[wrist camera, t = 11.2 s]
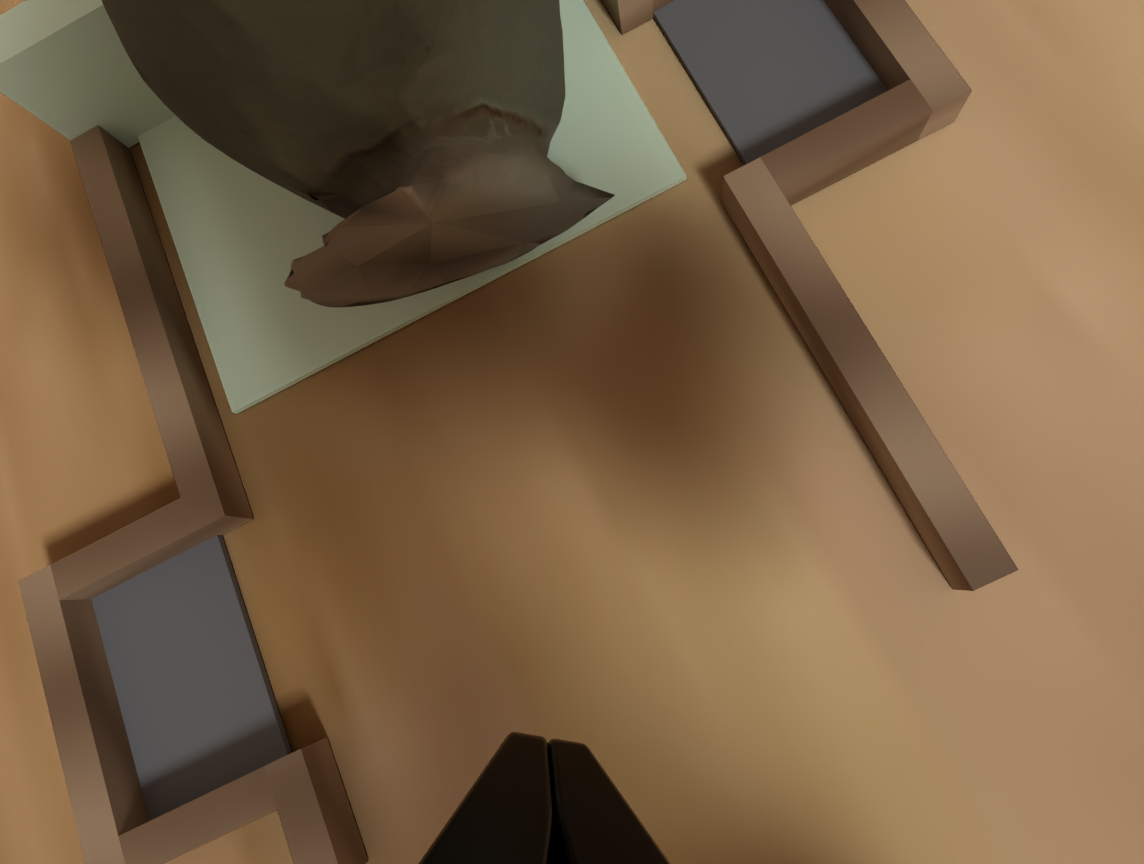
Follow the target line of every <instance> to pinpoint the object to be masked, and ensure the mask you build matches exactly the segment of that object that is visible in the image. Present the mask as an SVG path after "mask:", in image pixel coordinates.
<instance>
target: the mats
mask: <svg viewBox="0 0 1144 864" xmlns="http://www.w3.org/2000/svg"><path fill="white" fill-rule="evenodd" d="M653 14H654V19H655V21H656V22H657V24H658V25H659V27H660V29H661V30H662V32H663V34H664V35H665V37H666V38H667V40H668V42H669V43H670V45H671V47H672V48H673V50H674V51H675V53H676V55H677V56H678V58H679V59H680V61H681V63H682V64H683V66H684V68H685V69H686V71H687V72H688V74H689V76H690V77H691V79H692V81H693V82H694V84H695V85H696V87H697V89H698V90H699V92H700V94H701V95H702V97H703V98H704V100H705V102H706V103H707V105H708V107H709V108H710V110H711V111H712V113H713V115H714V116H715V118H716V119H717V121H718V123H719V124H720V126H721V128H722V129H723V131H724V132H725V134H726V136H727V137H728V139H729V141H730V142H731V144H732V145H733V147H734V149H735V150H736V152H737V154H738V155H739V157H740V158H741V160H742V162H743V163H744V165H746V164H748V163H750V162H752V161H754V160H756V159H757V158H759V157H761V156H763V155H765V154H767V153H769V152H771V151H773V150H775V149H777V148H779V147H781V146H783V145H784V144H786V143H788V142H790V141H792V140H794V139H796V138H798V137H800V136H802V135H804V134H806V133H808V132H809V131H811V130H813V129H815V128H817V127H819V126H821V125H823V124H825V123H827V122H829V121H831V120H833V119H835V118H836V117H838V116H840V115H842V114H844V113H846V112H848V111H850V110H852V109H854V108H856V107H858V106H860V105H862V104H863V103H865V102H867V101H869V100H871V99H873V98H875V97H877V96H879V95H881V94H883V93H885V92H887V91H888V90H887V88H886V87H885V85H884V84H883V83H882V81H881V80H880V78H879V77H878V76H877V74H876V73H875V71H874V70H873V69H872V67H871V66H870V64H869V63H868V61H867V60H866V59H865V57H864V56H863V54H862V53H861V52H860V50H859V49H858V47H857V46H856V44H855V43H854V42H853V40H852V39H851V37H850V36H849V35H848V33H847V32H846V30H845V29H844V28H843V26H842V25H841V23H840V22H839V20H838V19H837V18H836V16H835V15H834V13H833V12H832V11H831V9H830V8H829V6H828V5H827V3H826V2H825V1H824V0H675V1H673V2H671V3H670V4H668V5H666V6H664V7H662V8H660V9H659V10H657V11H655V12H653ZM92 603H93V607H94V611H95V614H96V618H97V622H98V626H99V630H100V633H101V637H102V641H103V645H104V649H105V652H106V656H107V660H108V664H109V668H110V671H111V675H112V679H113V683H114V687H115V690H116V694H117V698H118V702H119V706H120V709H121V713H122V717H123V721H124V725H125V728H126V732H127V736H128V740H129V744H130V747H131V751H132V755H133V759H134V763H135V766H136V770H137V774H138V778H139V782H140V785H141V789H142V793H143V797H144V801H145V804H146V808H147V812H148V816H149V820H150V821H151V820H153V819H155V818H157V817H159V816H161V815H163V814H165V813H168V812H170V811H172V810H174V809H176V808H178V807H180V806H182V805H184V804H186V803H188V802H191V801H193V800H195V799H197V798H199V797H201V796H203V795H205V794H207V793H209V792H211V791H213V790H216V789H218V788H220V787H222V786H224V785H226V784H228V783H230V782H232V781H234V780H236V779H238V778H241V777H243V776H245V775H247V774H249V773H251V772H253V771H255V770H257V769H259V768H261V767H263V766H266V765H268V764H270V763H272V762H274V761H276V760H278V759H280V758H282V757H284V756H286V755H288V754H291V753H292V751H291V748H290V745H289V742H288V739H287V736H286V732H285V729H284V726H283V723H282V720H281V717H280V714H279V711H278V708H277V704H276V701H275V698H274V695H273V692H272V689H271V686H270V683H269V680H268V676H267V673H266V670H265V667H264V664H263V661H262V658H261V655H260V652H259V648H258V645H257V642H256V639H255V636H254V633H253V630H252V627H251V624H250V620H249V617H248V614H247V611H246V608H245V605H244V602H243V599H242V596H241V592H240V589H239V586H238V583H237V580H236V577H235V574H234V571H233V568H232V564H231V561H230V558H229V555H228V552H227V549H226V546H225V543H224V540H223V536H222V535H216V536H214V537H212V538H210V539H208V540H206V541H204V542H202V543H200V544H198V545H196V546H194V547H192V548H190V549H188V550H187V551H185V552H183V553H181V554H179V555H177V556H175V557H173V558H171V559H169V560H167V561H165V562H163V563H161V564H159V565H157V566H155V567H153V568H151V569H149V570H147V571H145V572H143V573H141V574H139V575H137V576H135V577H133V578H131V579H129V580H127V581H126V582H124V583H122V584H120V585H118V586H116V587H114V588H112V589H110V590H108V591H106V592H104V593H102V594H100V595H98V596H96V597H94V598H92Z"/></svg>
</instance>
